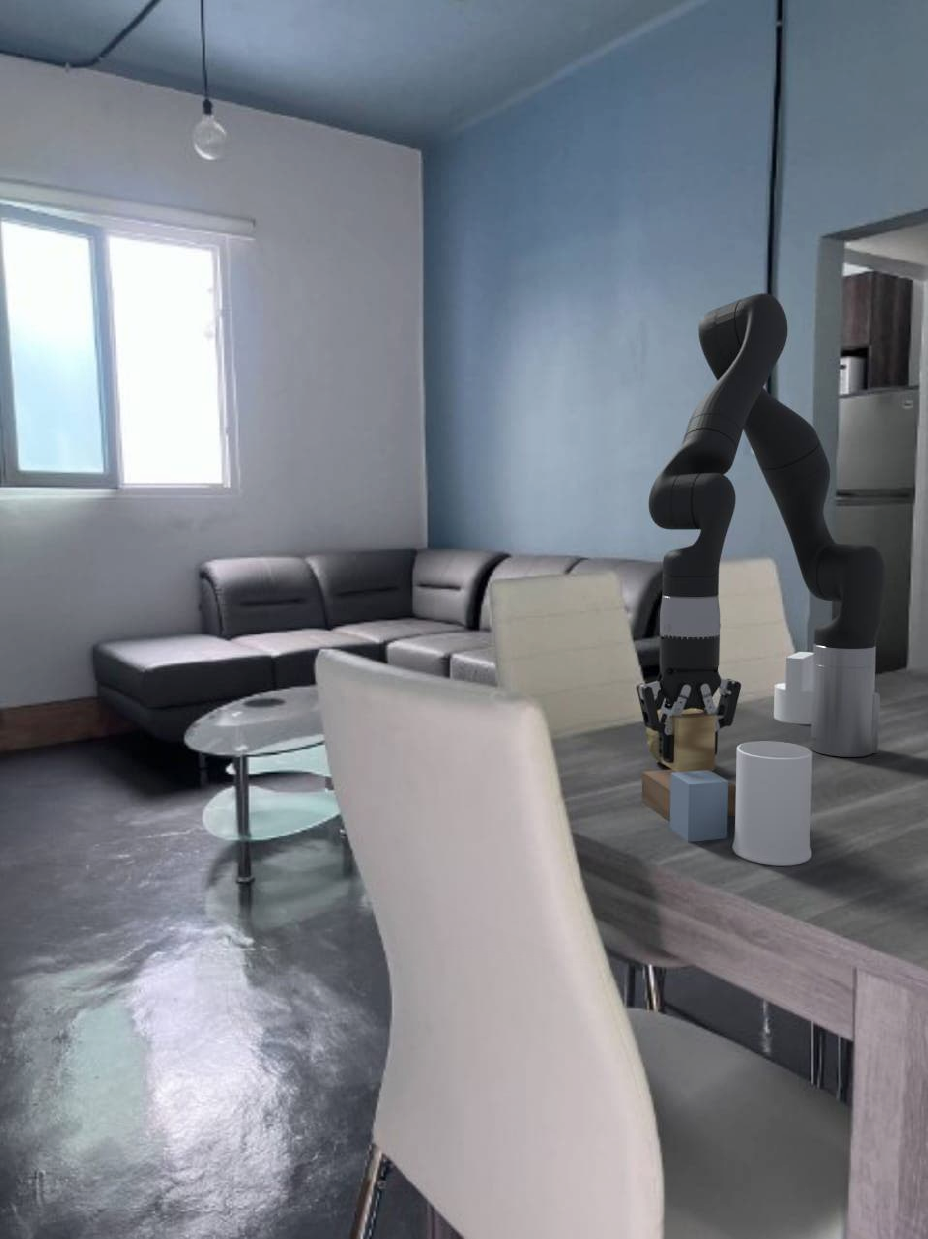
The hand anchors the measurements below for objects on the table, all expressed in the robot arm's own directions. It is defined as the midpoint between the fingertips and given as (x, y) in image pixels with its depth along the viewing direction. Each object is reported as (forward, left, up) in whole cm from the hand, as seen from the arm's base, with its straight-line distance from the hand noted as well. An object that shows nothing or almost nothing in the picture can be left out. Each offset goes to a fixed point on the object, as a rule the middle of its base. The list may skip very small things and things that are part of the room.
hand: (687, 759), depth 121 cm
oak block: (0, 0, -1) cm, 1 cm away
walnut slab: (0, 0, -7) cm, 7 cm away
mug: (-3, +16, -7) cm, 17 cm away
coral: (-8, -21, -7) cm, 23 cm away
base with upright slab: (-44, -44, -7) cm, 63 cm away
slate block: (+3, +9, -7) cm, 12 cm away
